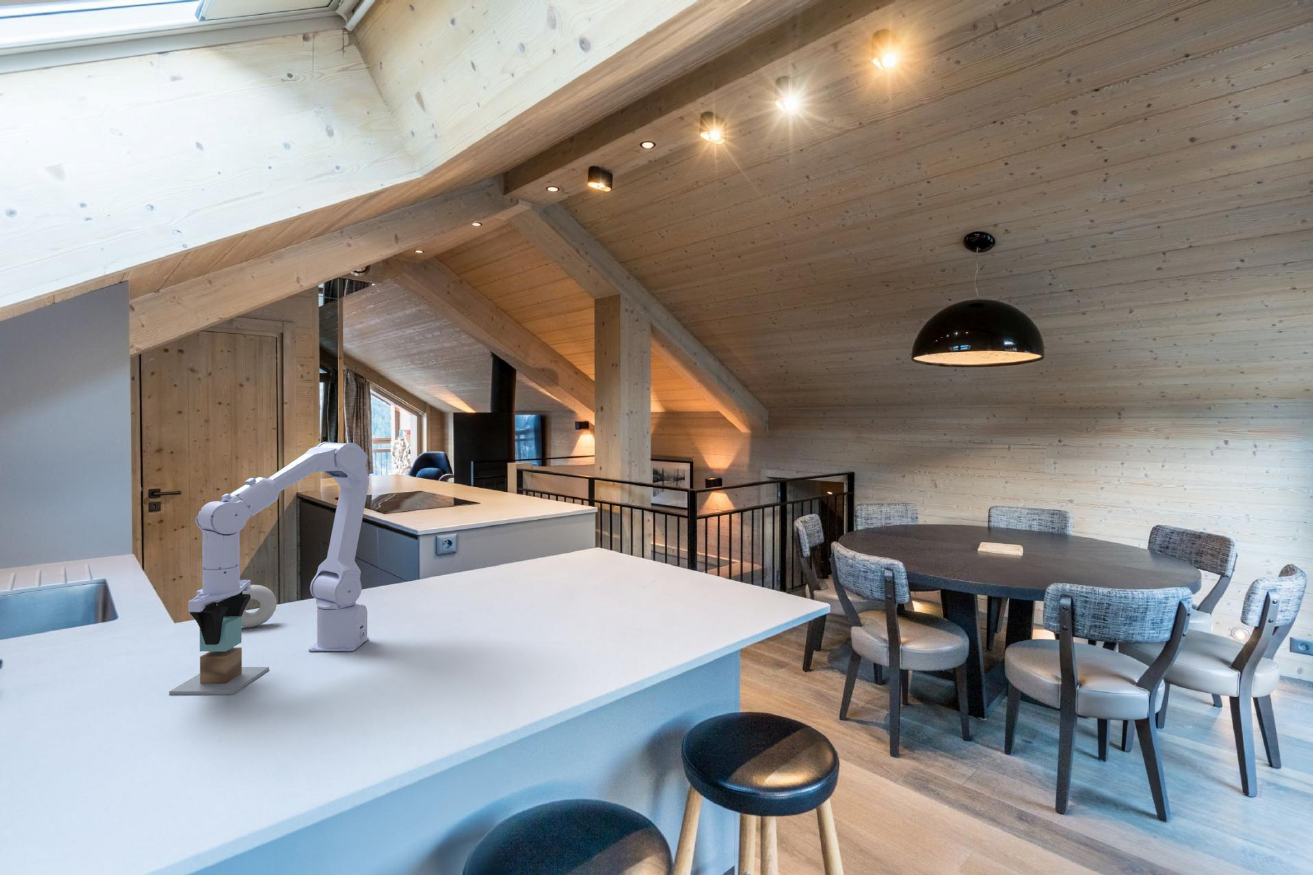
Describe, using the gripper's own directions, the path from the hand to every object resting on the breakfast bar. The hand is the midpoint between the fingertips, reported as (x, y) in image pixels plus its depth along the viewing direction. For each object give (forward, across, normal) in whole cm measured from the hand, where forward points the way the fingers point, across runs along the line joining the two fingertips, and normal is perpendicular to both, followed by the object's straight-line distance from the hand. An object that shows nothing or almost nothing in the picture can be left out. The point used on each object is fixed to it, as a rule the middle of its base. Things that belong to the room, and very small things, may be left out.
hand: (221, 639), depth 116 cm
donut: (+8, -31, -13) cm, 35 cm away
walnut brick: (+7, 0, 0) cm, 7 cm away
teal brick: (+1, 0, 0) cm, 1 cm away
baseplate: (+8, 0, 0) cm, 8 cm away
